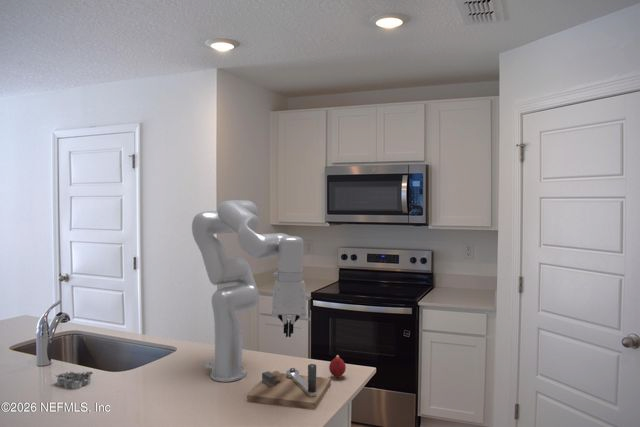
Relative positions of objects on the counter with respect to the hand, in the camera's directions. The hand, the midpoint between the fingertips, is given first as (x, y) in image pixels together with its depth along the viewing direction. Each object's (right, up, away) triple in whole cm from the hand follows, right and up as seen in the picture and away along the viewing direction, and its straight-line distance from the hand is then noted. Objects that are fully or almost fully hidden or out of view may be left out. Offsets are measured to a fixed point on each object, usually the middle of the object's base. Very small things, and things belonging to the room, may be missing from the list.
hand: (288, 335), depth 143 cm
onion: (+16, -21, +21) cm, 33 cm away
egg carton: (-74, -21, +15) cm, 78 cm away
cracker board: (0, -21, +8) cm, 22 cm away
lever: (+4, -18, +9) cm, 21 cm away
